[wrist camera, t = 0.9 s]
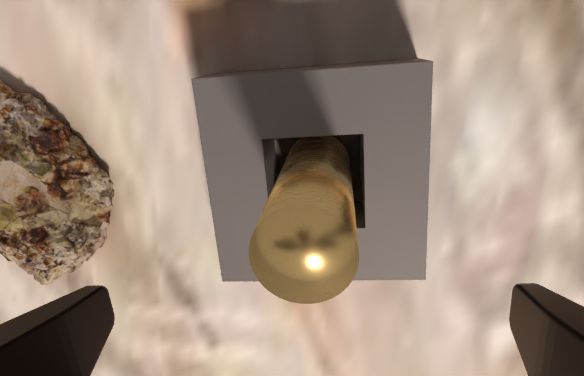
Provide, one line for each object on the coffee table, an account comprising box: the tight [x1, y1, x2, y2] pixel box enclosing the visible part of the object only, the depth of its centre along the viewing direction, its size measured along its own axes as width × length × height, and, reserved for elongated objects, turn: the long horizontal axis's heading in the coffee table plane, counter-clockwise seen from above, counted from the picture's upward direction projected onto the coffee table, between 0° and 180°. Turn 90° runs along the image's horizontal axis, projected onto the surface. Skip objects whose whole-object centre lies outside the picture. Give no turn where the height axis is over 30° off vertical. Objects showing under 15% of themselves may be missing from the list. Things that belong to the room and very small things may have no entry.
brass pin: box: [249, 136, 359, 304], centre depth 15 cm, size 3×3×9 cm
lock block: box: [192, 58, 433, 281], centre depth 18 cm, size 9×9×3 cm
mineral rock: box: [0, 79, 114, 285], centre depth 21 cm, size 11×4×8 cm
